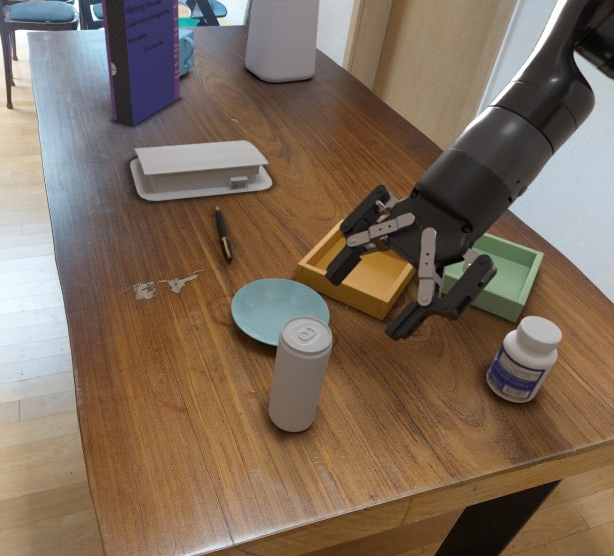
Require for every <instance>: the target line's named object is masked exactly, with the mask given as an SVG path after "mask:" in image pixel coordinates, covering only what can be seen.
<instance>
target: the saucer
mask: <svg viewBox="0 0 614 556" xmlns="http://www.w3.org/2000/svg"><path fill="white" fill-rule="evenodd" d="M230 309H231V310H230V311H231V315H232V319H233V320H234V322H235V324H236V325H237V327H239V329H240V330H241V331H242V332H244V333H245V334H246V335H248V336H249V337H251V338H252V339H254V340H256V341H258V342H261V343H264V344H265V345H266V344H267V345H270V346H274V347H278V340H279V334H280V331H281V329H282V326H283V324H284V323H285V322H286V321H287V320H288V319H290V318H292V317H296V316H311V317H314V318H317V319H319V320H321V321H323V322H324V323H325V324H326V325H327V326H328V327H329V323H330V310H329V307H328V305H327V303H326V301H325V300H324V299H323V297H322V296H321V295H320V294H319V292H318V291H316V290H313V289H311V288H309V287H307V286H305V285H303V284H301V283H298V282H296V281H295V280H292V279H287V278H277V277H275V278H264V279H258V280H255V281H251V282H250V283H247V284H245V285H244V286H242V287H241V288H239V290H238V291H236V292H235V294H234V296H233V298H232V301H231V305H230Z"/></svg>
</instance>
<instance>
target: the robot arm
mask: <svg viewBox="0 0 614 556" xmlns="http://www.w3.org/2000/svg"><path fill="white" fill-rule="evenodd" d="M575 54H576V55H578V57H580V58H581V59H583V61H585V62H586V63H588V64H589V65H590V66H592V67H593V68H594V69H595V70H596V71H597V72H599V73H600V74H601V75H603V76H604V77H605V78H607V79H608V80H611V81H612V82H614V0H557V2H556V3H555V4H554V7H553V9H552V11H551V13H550V15H549V17H548V19H547V21H546V23H545V25H544V28H543V30H542V32H541V34H540V36H539V38H538V40H537V42H536V44H534V47H533V49H532V50H531V52H530V54H529V55H528V57H527V58H526V60H525V61H524V63H523V64H522V66H521V67H520V68H519V70H518V71H517V72H516V73H515V75H513V77H512V79H511V80H510V81H509V82H508V83H507V84H506V85H505V87H503V88H502V90H501V91H500V92H499V93H498V94H497V95H496V97H494V99H493V100H492V101H491V102H490V104H489V105H488V106H487V107H486V108H485V109H484V110H483V111H482V112H481V113H479V115H478V116H476V118H474V119H473V120H472V121H470V122H469V124H467V125H466V126H465V127H464V128H463V130H461V132H459V134H458V135H457V136H456V137H455V138H454V139H453V141H452V142H451V143H450V144H449V145H448V146H447V148H445V149H444V151H443V152H442V153H441V154H440V155H439V157H437V159H436V160H434V162H433V163H432V164H431V165H430V166H429V167H428V169H427V170H426V171H425V172H424V173H423V174H422V176H421V177H420V178H419V179H418V180H417V181H416V183H415V184H414V186H413V188H412V190H411V191H410V193H409V194H408V195H407V196H405V197H404V198H402V199H400V200H399V199H398V198H397V197H395V196H394V195H393V194H392V193H391V192H390V191H389V190H388V188H387V186H386V185H384V184H378V185H377V186H375V187H374V188H373V189H372V190H371V191H370V192H369V194H368V195H366V197H365V198H364V199H363V200H362V201H361V202H360V203H359V204H358V205H357V206H356V207H355V208H354V209H353V210H352V211H351V212H350V213H349V214H348V215H347V216H346V217H345V218H344V221H343V222H342V223H341V224H340V227H339V228H340V230H341V231H342V233H343V235H344V237H345V239H346V244H345V246H344V248H343V249H342V250H341V251H340V252H339V253H338V254H337V255H336V257H335V258H334V259H333V260H332V261H331V262H330V263H329V265H328V266H327V269H326V271H327V272H326V274H325V278H326V279H327V280H328V281H329V282H331V283H332V284H333V285H335V286H338V285H340V284H341V283H342V282H343V280H344V279H345V278H346V277H347V276H348V275H349V274H350V273H351V272H352V270H353V269H354V268H355V267H356V266H357V265H358V264H359V263H360V261H361V260H362V259H361V258H360V256H363V255H367V254H370V253H373V252H377V251H381V252H385V251H389V250H392V251H393V252H394V253H395V254H396V255H398V256H399V257H400V258H402V259H405V260H407V261H408V262H409V263H410V264H411V266H412V267H413V268H415V269H416V270H417V271H416V272H418V274H417V275H418V281H419V283H418V290H417V300H416V301H414V300H412V299H411V300H410V301H409V303H407V304H406V306H405V307H404V308H403V309H402V310H401V311H400V312H399V313H398V314H397V315H396V317H394V318H393V320H392V321H391V322H390V323H389V324H388V325H387V326H386V328H385V329H384V331H383V332H384V333H383V334H385V335H386V336H387V337H388V338H389V339H391V340H392V341H393V342H394V343H395V342H399V341H400V340H403V341H406V340H407V339H410V338H411V337H412V336H413V335H414V334H415V332H417V330H418V329H419V328H420V327H421V326H422V325H423V324H424V323H425V322H426V321H427V320H428V319H429V318H430V317H432V316H439V317H442V318H445V319H447V320H448V321H450V322H456V321H459V319H460V318H461V317H462V316H463V314H465V312H466V311H467V310H468V308H469V307H470V306H472V305H471V304H472V302H473V301H474V300H475V299H476V298H477V297H478V295H479V294H480V293H481V292H482V291H483V289H484V288H485V287H486V286H487V285H488V283H489V282H490V281H491V280H492V279H493V277H494V276H495V275H496V274H497V268H496V266H495V264H494V262H493V260H492V259H491V258H490V256H489V255H486V254H482V255H480V254H479V253H477V252H475V251H473V250H472V247H473V245H474V243H475V242H476V241H477V240H478V239H479V238H480V237H482V236H483V235H484V234H485V233H488V231H489V230H490V228H492V226H493V225H494V224H495V223H496V222H497V221H498V220H499V219H500V218H501V217H502V216H503V215H504V213H505V212H506V211H507V210H508V209H509V208H510V207H511V206H513V204H514V203H515V201H516V200H518V198H520V197H522V196H523V195H524V194H525V192H526V191H527V190H528V188H529V187H530V185H531V184H532V183H534V181H535V180H536V178H537V177H538V176H539V175H540V174H541V172H542V170H543V169H544V167H545V166H546V165H547V163H548V162H549V161H550V159H552V157H553V156H554V155H555V154H556V153H557V152H558V151H559V150H560V149H561V147H563V145H564V144H565V143H566V142H567V141H568V140H569V139H570V138H571V137H572V136H573V134H575V132H577V131H578V130H579V129H580V128H581V126H582V125H583V124H584V123H585V122H586V120H587V119H588V118H589V117H590V116H591V114H592V112H593V111H594V108H595V106H596V96H595V92H594V89H593V88H592V85H591V84H590V83H589V81H588V79H587V78H586V77H585V74H583V72H582V71H581V69H580V68H579V66H578V64H577V62H576V59H575ZM390 212H391V213H390ZM388 214H391V215H390V219H389V220H387V221H382V222H381V223H377V222H376V221H377V220H378V219H379V218H380V217H381V216H382V215H388ZM375 223H376V224H375ZM374 224H375V225H374ZM386 236H388V237H386ZM463 261H465V264H464V265H463V268H462V271H463V273H464V274H463V275H462V276H461V277H460V279H459V280H458V281H457V282H456V283H455V285H454V286H453V287H452V288H451V289H450V291H449V292H448V293H447V294H444V297H442V293H441V291H442V289H443V287H444V279H445V269H446V266H449V265H452V264H456V263H460V262H463Z"/></svg>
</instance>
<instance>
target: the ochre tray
mask: <svg viewBox="0 0 614 556" xmlns="http://www.w3.org/2000/svg"><path fill="white" fill-rule="evenodd" d="M344 220H345V218H344V219H343V218H342V219H340V221H338V223H337V224H336V225H335V226H333V228H332V229H331V230H329V232H328V233H327V234H326V235H325V236H324V237H323V238H322V239H321V240H320V241H319V242H318V243H317V244H315V246H314V247H313V248H312V249H310V251H309V252H308V253H307V254H306V255H305V256H304V257H303V258H302V259H301V260H300V261H298V263H297V266H296V272H295V279H294V281H295V282H298V283H301V284H303V285H305V286H307V287H309V288H311V289H313V290H314V291H315V292H317V293H320V294H322V295H325V296H327V297H328V298H332V299H334V300H336V301H338V302H340V303H343V304H345V305H347V306H349V307H352V308H354V309H356V310H358V311H360V312H363V313H365V314H367V315H370V316H372V317H374V318H377V319H378V320H381V321H384V319H385V318H386V317H387V315H388V313H389V312H390V311H391V309H392V307H393V306H394V305H395V303H396V301H398V299H399V298H400V296H401V295H402V293H403V292H404V290H405V288H406V287H407V285H409V282H410V281H411V280H412V278H413V276H414V275H415V274H416V272H418V271H417V270H416V269H415V268H413V267H412V266H411V264H410V263H409V262H408V261H407V260H405V259H402V258H400V257H399V256H398V255H396V254H395V253H394V252H393V251H392V250H389V251H385V252H381V251H377V252H373V253H370V254H367V255H363V256H360V258H361V259H362V260H361V261H360V263H359V264H358V265H357V266H356V267H355V268H354V269H353V270H352V272H351V273H350V274H349V275H348V276H347V277H346V278H345V279H344V280H343V282H342V283H341V284H340V285H338V286H335V285H333V284H332V283H331V282H329V281H328V280H327V279H326V278H325V274H326V272H327V271H326V269H327V266H328V265H329V263H330V262H331V261H332V260H333V259H334V258H335V257H336V255H337V254H338V253H339V252H340V251H341V250H342V249H343V248H344V246H345V244H346V239H345V237H344V235H343V233H342V231H341V230H340V228H339V227H340V224H341V223H342V222H343V221H344ZM386 237H388V236H386Z"/></svg>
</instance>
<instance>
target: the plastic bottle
mask: <svg viewBox="0 0 614 556" xmlns="http://www.w3.org/2000/svg"><path fill="white" fill-rule="evenodd" d="M319 14H320V0H252V1H251V10H250V16H249V17H250V18H249V24H248V25H249V26H248V33H247V34H248V35H247V42H246V48H245V49H246V50H245V58H244V65H245V68H246V69H247V70H248V71H249V72H251V73H252V74H253V75H255V76H256V77H257V78H259V80H262V81H264V82H267V83H274V84H275V83H276V84H277V83H278V84H279V83H280V84H281V83H288V82H296V81H303V80H304V81H305V80H308V79H311V78H313V76H314V75H315V70H316V56H317V40H318V28H319V27H318V26H319Z"/></svg>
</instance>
